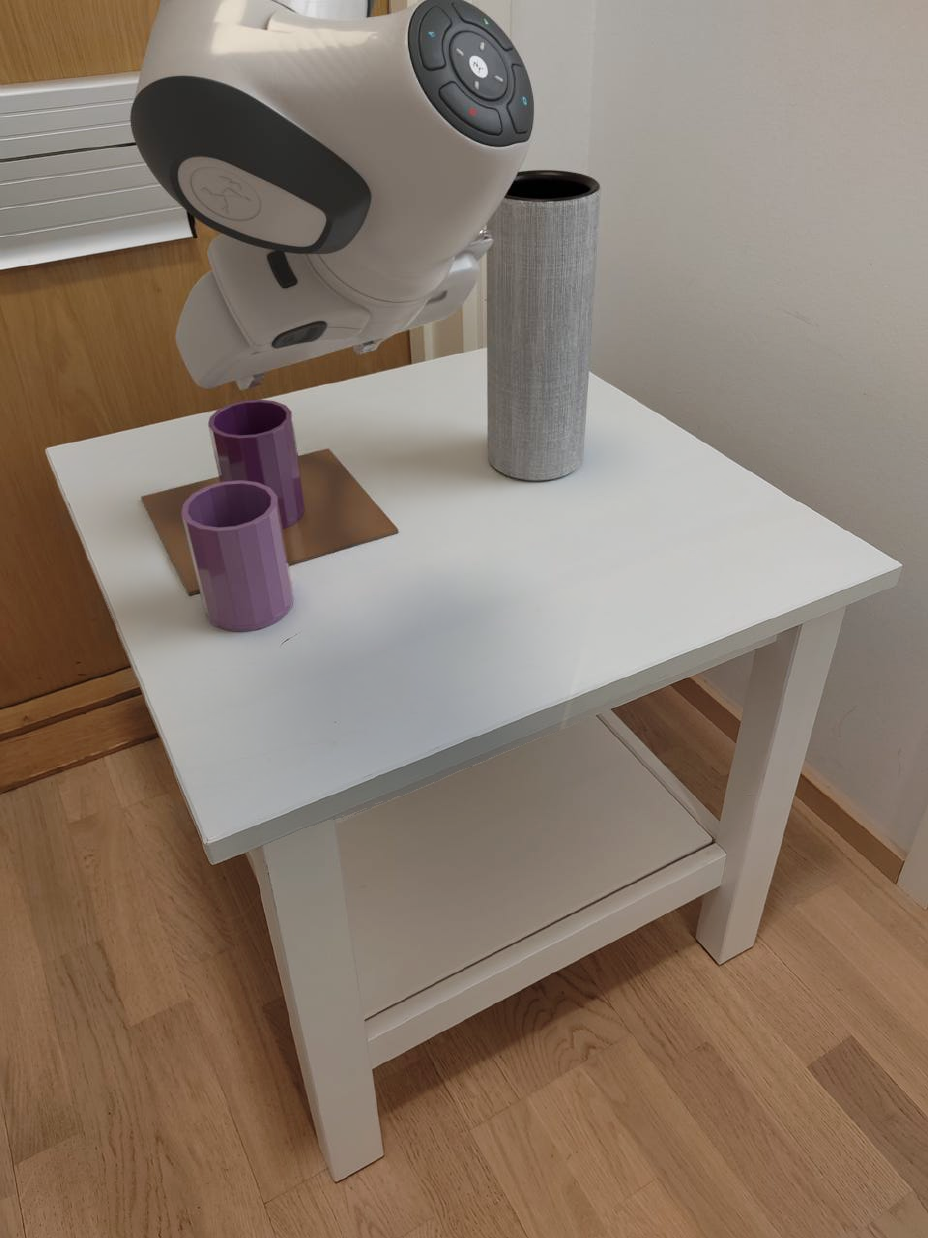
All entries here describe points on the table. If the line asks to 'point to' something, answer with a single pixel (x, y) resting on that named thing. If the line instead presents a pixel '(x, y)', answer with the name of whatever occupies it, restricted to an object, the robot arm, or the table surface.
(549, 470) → the vase
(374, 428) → the table surface
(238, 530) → the mauve cup
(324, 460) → the placemat
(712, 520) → the table surface
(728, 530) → the table surface
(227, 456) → the plum cup
